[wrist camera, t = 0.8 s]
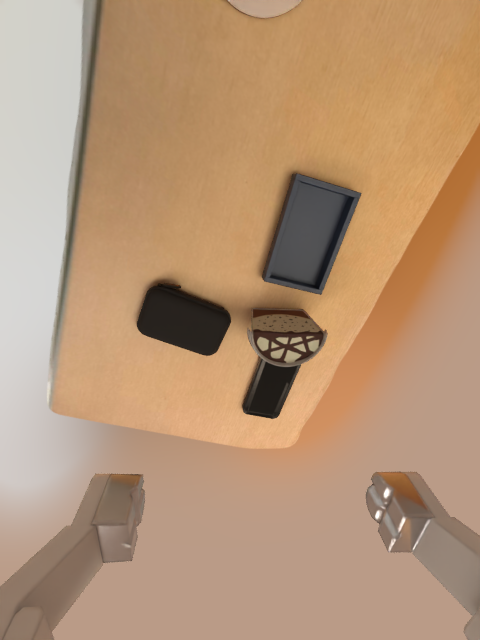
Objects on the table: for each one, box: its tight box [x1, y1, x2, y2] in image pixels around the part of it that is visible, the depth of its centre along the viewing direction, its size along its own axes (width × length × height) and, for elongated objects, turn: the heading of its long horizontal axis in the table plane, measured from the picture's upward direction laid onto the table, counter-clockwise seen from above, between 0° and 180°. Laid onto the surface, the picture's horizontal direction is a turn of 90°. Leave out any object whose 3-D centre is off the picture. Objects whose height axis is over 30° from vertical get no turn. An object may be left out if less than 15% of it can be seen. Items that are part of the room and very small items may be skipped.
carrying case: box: [137, 283, 231, 356], centre depth 50 cm, size 11×3×15 cm
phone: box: [243, 357, 301, 419], centre depth 58 cm, size 8×1×15 cm
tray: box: [262, 173, 361, 295], centre depth 46 cm, size 16×10×2 cm, turn 165°
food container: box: [247, 308, 327, 367], centre depth 49 cm, size 12×6×10 cm, turn 87°
